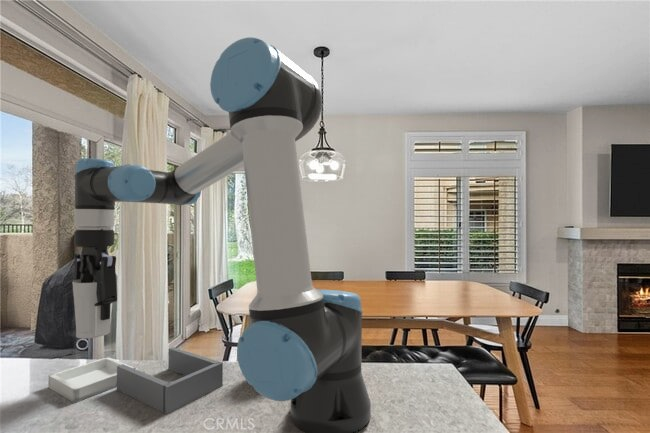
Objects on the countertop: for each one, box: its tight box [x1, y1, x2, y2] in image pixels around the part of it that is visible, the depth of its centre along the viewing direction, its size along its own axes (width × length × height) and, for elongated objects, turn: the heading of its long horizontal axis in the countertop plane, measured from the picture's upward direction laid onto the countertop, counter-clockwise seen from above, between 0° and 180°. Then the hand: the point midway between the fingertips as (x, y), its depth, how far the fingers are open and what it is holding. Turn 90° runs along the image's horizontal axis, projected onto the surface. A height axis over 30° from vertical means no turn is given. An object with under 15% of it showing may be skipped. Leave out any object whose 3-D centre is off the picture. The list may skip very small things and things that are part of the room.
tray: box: [47, 356, 137, 404], centre depth 78 cm, size 12×12×3 cm
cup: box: [71, 279, 114, 339], centre depth 78 cm, size 8×8×12 cm
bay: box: [116, 346, 224, 415], centre depth 76 cm, size 18×13×5 cm
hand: (93, 330), depth 78 cm, fingers closed on cup, 7 cm apart
